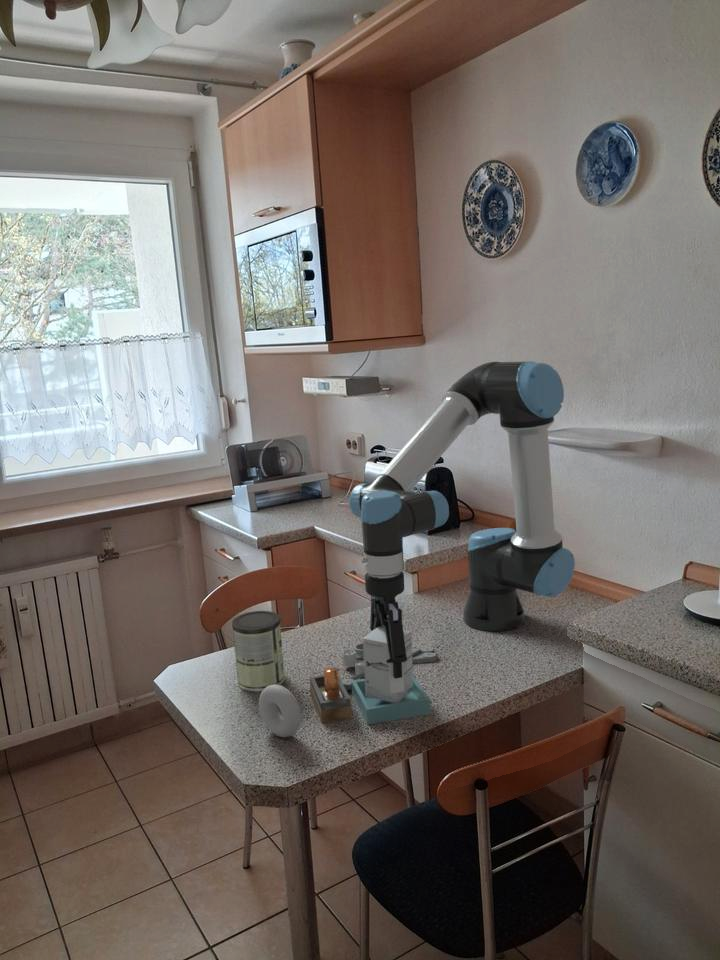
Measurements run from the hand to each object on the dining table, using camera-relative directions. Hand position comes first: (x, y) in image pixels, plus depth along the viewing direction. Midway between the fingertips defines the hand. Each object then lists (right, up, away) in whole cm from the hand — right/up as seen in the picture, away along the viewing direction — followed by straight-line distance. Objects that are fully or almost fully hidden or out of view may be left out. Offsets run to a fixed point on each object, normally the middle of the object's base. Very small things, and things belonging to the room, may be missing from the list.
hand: (389, 679), depth 153 cm
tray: (0, -5, +1) cm, 5 cm away
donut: (-20, -8, -9) cm, 24 cm away
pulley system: (-1, -2, +19) cm, 19 cm away
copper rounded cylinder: (-11, -4, -2) cm, 12 cm away
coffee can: (-27, -4, +14) cm, 31 cm away
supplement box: (0, -3, +1) cm, 3 cm away
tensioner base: (-12, -6, +2) cm, 13 cm away
